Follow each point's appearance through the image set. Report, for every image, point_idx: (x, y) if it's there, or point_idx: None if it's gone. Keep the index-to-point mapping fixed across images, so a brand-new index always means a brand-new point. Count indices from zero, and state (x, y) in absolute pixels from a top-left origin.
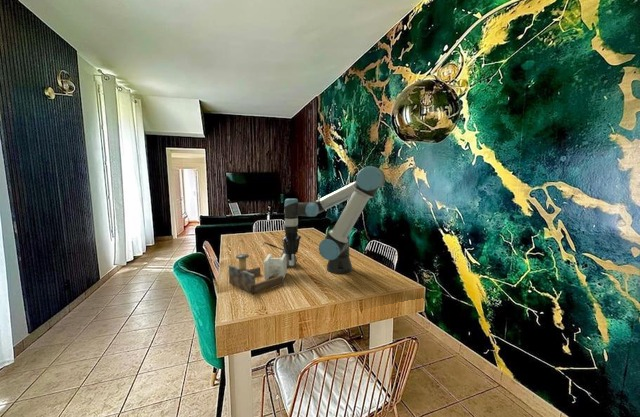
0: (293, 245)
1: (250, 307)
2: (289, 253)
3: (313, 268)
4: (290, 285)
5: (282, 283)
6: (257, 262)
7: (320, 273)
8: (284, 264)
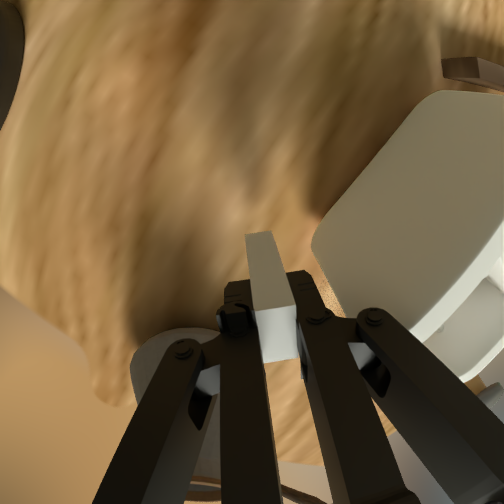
0: (275, 467)
1: None
2: (360, 321)
3: (66, 189)
4: (420, 4)
5: (448, 59)
6: (313, 430)
7: (85, 47)
8: (475, 138)
